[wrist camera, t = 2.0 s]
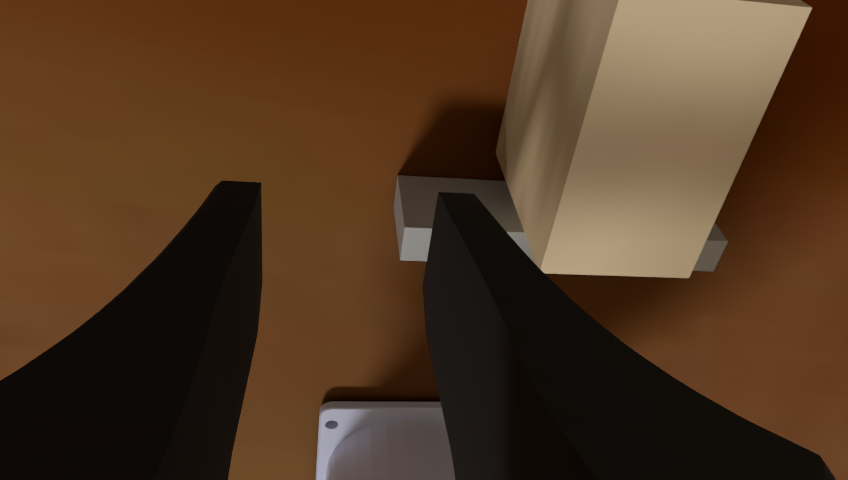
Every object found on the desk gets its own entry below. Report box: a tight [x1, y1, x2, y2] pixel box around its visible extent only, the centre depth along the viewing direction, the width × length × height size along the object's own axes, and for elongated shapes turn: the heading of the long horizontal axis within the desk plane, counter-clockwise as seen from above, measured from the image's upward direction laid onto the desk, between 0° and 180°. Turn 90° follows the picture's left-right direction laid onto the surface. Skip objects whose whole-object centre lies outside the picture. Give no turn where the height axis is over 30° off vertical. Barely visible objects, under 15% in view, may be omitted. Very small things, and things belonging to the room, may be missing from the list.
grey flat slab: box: [394, 175, 728, 271], centre depth 19 cm, size 11×10×3 cm
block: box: [495, 0, 812, 278], centre depth 18 cm, size 7×4×6 cm, turn 173°
